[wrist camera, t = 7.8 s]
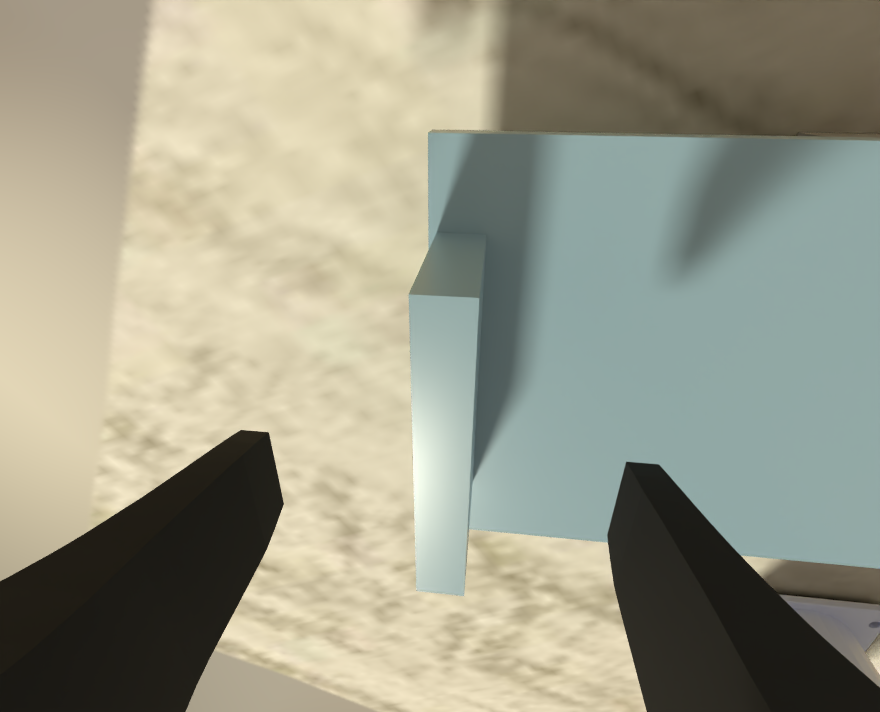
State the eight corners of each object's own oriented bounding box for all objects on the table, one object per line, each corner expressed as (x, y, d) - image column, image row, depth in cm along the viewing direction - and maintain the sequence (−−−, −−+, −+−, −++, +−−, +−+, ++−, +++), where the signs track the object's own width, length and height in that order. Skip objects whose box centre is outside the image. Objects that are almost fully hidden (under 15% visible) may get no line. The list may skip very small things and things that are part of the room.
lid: (1062, 566, 15) (1269, 743, 11) (432, 507, 17) (410, 640, 13) (1473, 147, 9) (2254, 197, 5) (432, 129, 11) (392, 154, 7)
